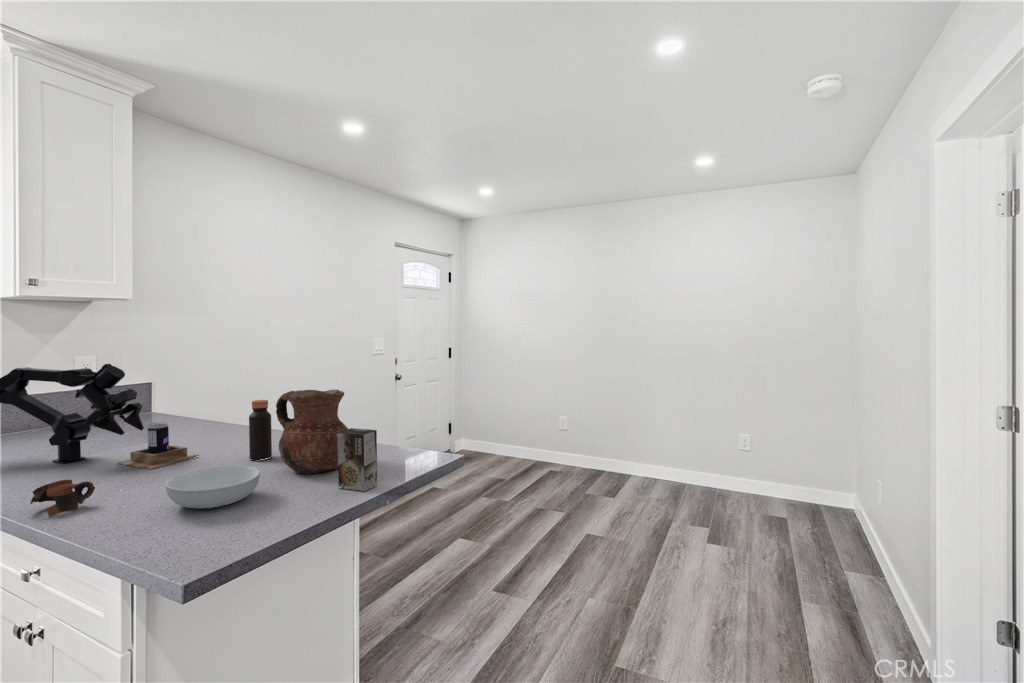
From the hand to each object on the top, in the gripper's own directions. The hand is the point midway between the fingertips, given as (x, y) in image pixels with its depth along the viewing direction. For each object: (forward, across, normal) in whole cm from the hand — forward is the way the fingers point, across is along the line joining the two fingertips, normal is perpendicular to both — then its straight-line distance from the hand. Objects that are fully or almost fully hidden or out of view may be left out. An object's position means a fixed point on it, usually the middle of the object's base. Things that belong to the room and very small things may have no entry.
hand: (133, 431), depth 164 cm
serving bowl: (+42, -41, -27) cm, 64 cm away
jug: (+52, -12, -40) cm, 67 cm away
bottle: (+36, 0, -24) cm, 43 cm away
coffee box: (+65, -31, -52) cm, 89 cm away
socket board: (+13, 0, 0) cm, 13 cm away
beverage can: (+13, 0, 0) cm, 13 cm away
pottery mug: (+18, -43, -1) cm, 47 cm away
